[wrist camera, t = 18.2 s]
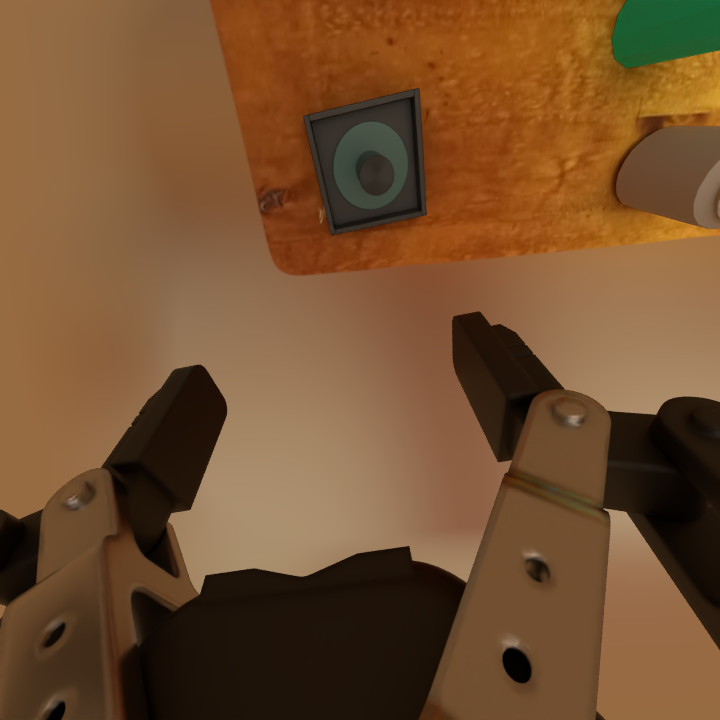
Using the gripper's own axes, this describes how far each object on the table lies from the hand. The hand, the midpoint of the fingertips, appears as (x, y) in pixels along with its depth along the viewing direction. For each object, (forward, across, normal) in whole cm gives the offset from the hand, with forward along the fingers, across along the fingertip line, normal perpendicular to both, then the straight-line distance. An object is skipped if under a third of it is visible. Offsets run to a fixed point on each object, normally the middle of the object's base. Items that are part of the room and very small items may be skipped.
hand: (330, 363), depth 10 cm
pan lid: (+29, -4, -2) cm, 29 cm away
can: (+30, -34, +4) cm, 46 cm away
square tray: (+30, -4, -2) cm, 30 cm away
